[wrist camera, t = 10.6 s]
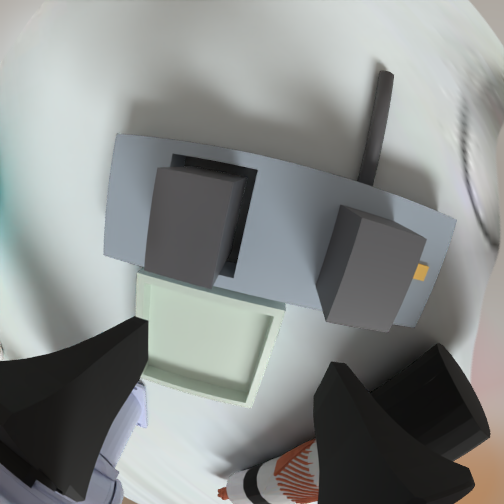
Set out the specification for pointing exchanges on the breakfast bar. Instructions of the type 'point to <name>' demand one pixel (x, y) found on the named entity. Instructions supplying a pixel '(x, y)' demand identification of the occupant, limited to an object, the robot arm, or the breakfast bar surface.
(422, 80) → the breakfast bar surface
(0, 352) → the teacup and saucer
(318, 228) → the power strip
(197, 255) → the plug
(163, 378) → the tray
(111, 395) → the robot arm
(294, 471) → the black white cylindrical piece
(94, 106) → the breakfast bar surface
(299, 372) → the breakfast bar surface
